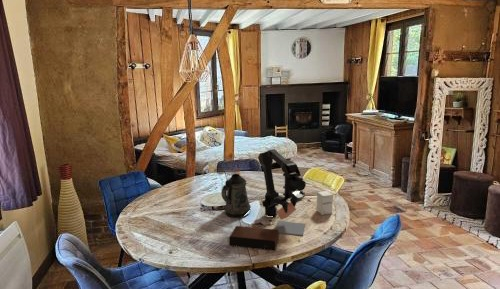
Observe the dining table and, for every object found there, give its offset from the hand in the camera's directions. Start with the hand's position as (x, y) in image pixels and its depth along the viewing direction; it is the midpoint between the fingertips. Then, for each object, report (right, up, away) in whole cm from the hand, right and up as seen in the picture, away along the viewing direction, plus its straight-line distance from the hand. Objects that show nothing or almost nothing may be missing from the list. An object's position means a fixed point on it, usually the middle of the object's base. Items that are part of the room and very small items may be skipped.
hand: (289, 211), depth 188 cm
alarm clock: (-20, -14, -14) cm, 28 cm away
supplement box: (+24, -5, +22) cm, 33 cm away
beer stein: (-30, -6, +22) cm, 38 cm away
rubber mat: (0, -10, +1) cm, 10 cm away
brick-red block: (-4, -3, +5) cm, 7 cm away
